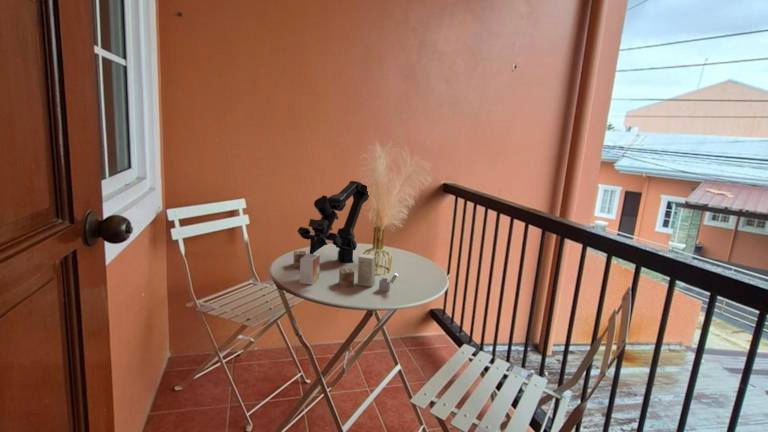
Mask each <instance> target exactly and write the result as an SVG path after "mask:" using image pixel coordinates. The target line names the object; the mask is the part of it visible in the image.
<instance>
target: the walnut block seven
mask: <svg viewBox="0 0 768 432" xmlns="http://www.w3.org/2000/svg"><path fill="white" fill-rule="evenodd" d="M306 254H307V253H306V250H303V251H301V250H296V251H293V266H294V268H295V269H296V268H297V269H298V268H299V269H300V259H301V258H302V257H304V256H305V255H306Z"/></svg>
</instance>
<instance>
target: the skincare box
mask: <svg viewBox="0 0 768 432" xmlns="http://www.w3.org/2000/svg"><path fill="white" fill-rule="evenodd" d="M376 256H377V255H372V254H365V253H361V254H360V255H359V256H358V259H357V260H358V261H357V285H358V286H364V287H369V288H372V286H374V285H375V281H376Z"/></svg>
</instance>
